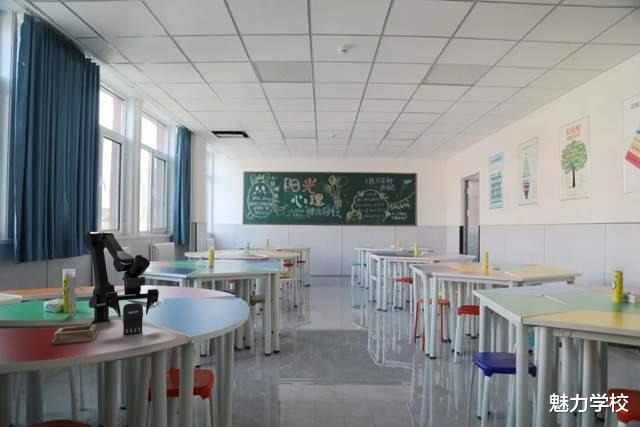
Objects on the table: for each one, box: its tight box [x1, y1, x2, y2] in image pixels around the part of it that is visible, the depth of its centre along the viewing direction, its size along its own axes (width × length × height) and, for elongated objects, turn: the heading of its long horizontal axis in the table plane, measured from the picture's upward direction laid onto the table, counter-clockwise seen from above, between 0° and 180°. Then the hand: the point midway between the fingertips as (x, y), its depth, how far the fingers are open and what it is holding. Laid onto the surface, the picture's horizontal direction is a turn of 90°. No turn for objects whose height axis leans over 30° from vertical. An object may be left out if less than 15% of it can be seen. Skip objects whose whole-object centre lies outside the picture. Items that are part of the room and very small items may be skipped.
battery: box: [122, 302, 144, 336], centre depth 153 cm, size 7×4×11 cm, turn 121°
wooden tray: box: [51, 324, 99, 346], centre depth 147 cm, size 10×13×4 cm
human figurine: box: [57, 276, 88, 316], centre depth 187 cm, size 12×4×18 cm, turn 126°
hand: (133, 315), depth 152 cm, fingers open, 9 cm apart
